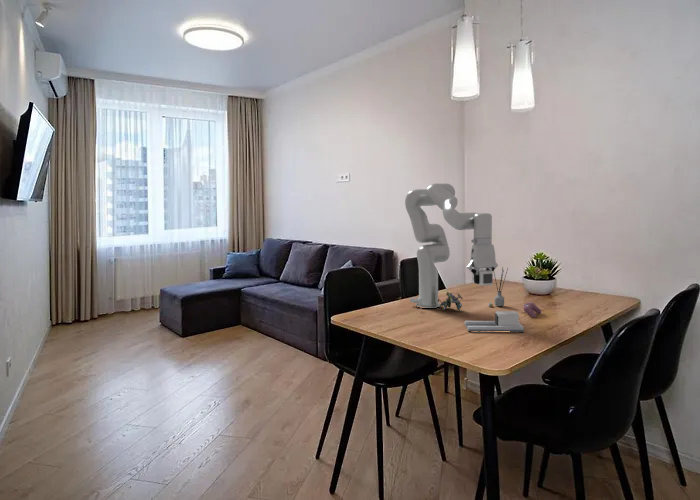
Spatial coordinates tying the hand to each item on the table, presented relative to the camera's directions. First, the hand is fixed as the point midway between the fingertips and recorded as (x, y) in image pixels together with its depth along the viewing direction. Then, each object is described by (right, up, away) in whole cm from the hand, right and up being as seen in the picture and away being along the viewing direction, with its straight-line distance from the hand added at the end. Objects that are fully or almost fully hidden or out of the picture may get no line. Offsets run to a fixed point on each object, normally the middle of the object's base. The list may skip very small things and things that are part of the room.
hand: (482, 282), depth 196 cm
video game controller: (+27, -16, +12) cm, 33 cm away
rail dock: (+2, -19, -9) cm, 21 cm away
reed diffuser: (+17, -14, +28) cm, 36 cm away
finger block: (0, -1, 0) cm, 1 cm away
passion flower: (-9, -16, +22) cm, 29 cm away
